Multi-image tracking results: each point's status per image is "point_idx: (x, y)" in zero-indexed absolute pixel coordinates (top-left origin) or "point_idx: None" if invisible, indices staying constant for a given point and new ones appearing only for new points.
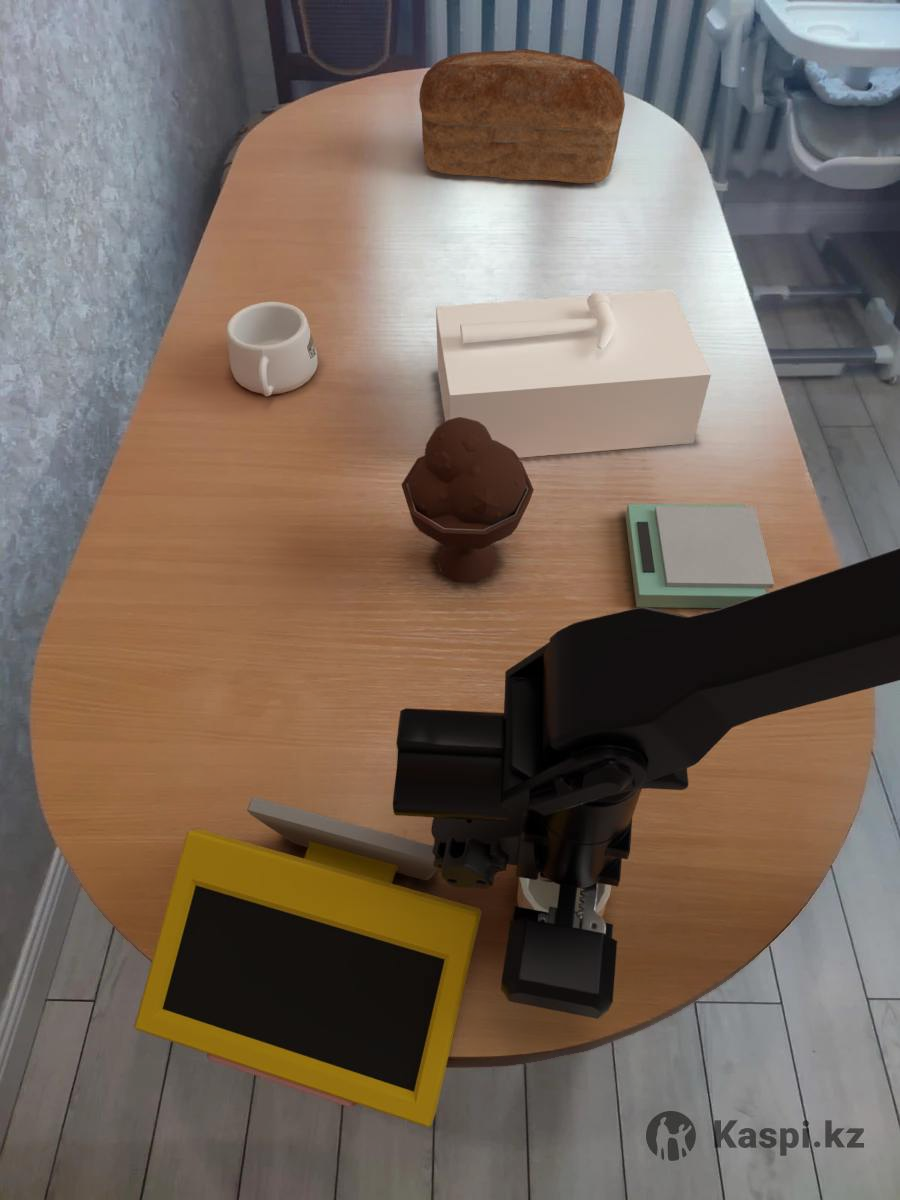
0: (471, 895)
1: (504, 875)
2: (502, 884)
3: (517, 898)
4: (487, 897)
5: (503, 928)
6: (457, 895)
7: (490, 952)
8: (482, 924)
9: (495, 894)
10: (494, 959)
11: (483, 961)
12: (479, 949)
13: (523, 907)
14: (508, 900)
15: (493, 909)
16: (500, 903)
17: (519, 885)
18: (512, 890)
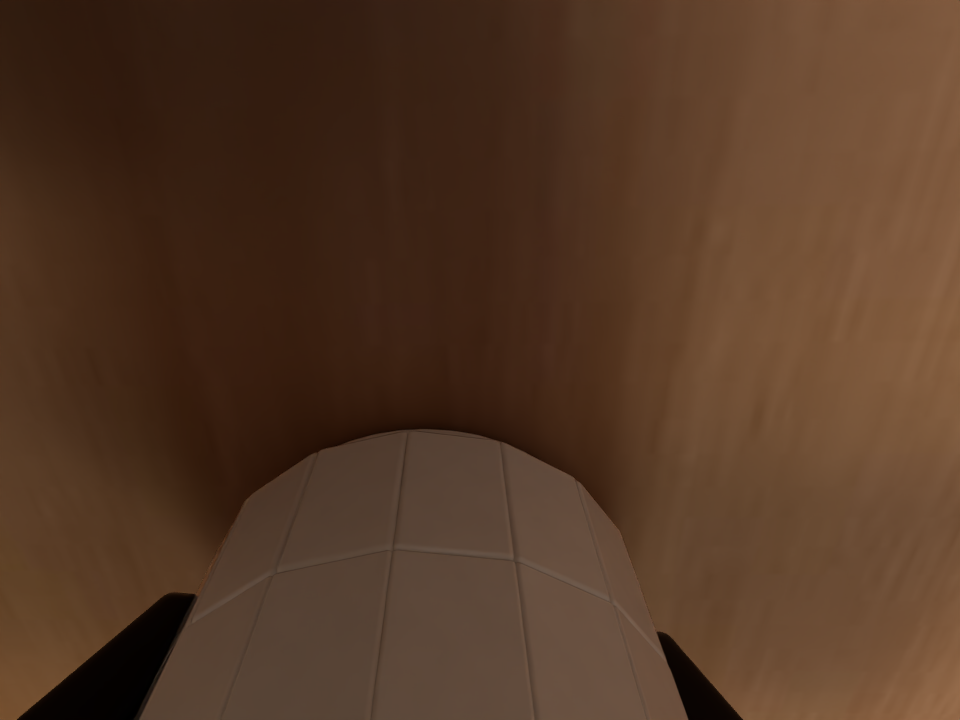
0: (433, 155)
1: (556, 346)
2: (505, 337)
3: (393, 455)
4: (426, 256)
5: (259, 344)
6: (427, 53)
7: (106, 277)
8: (259, 228)
9: (447, 300)
10: (73, 299)
11: (40, 238)
12: (104, 213)
13: (267, 571)
14: (417, 367)
15: (358, 290)
16: (397, 327)
17: (353, 660)
18: (473, 386)
